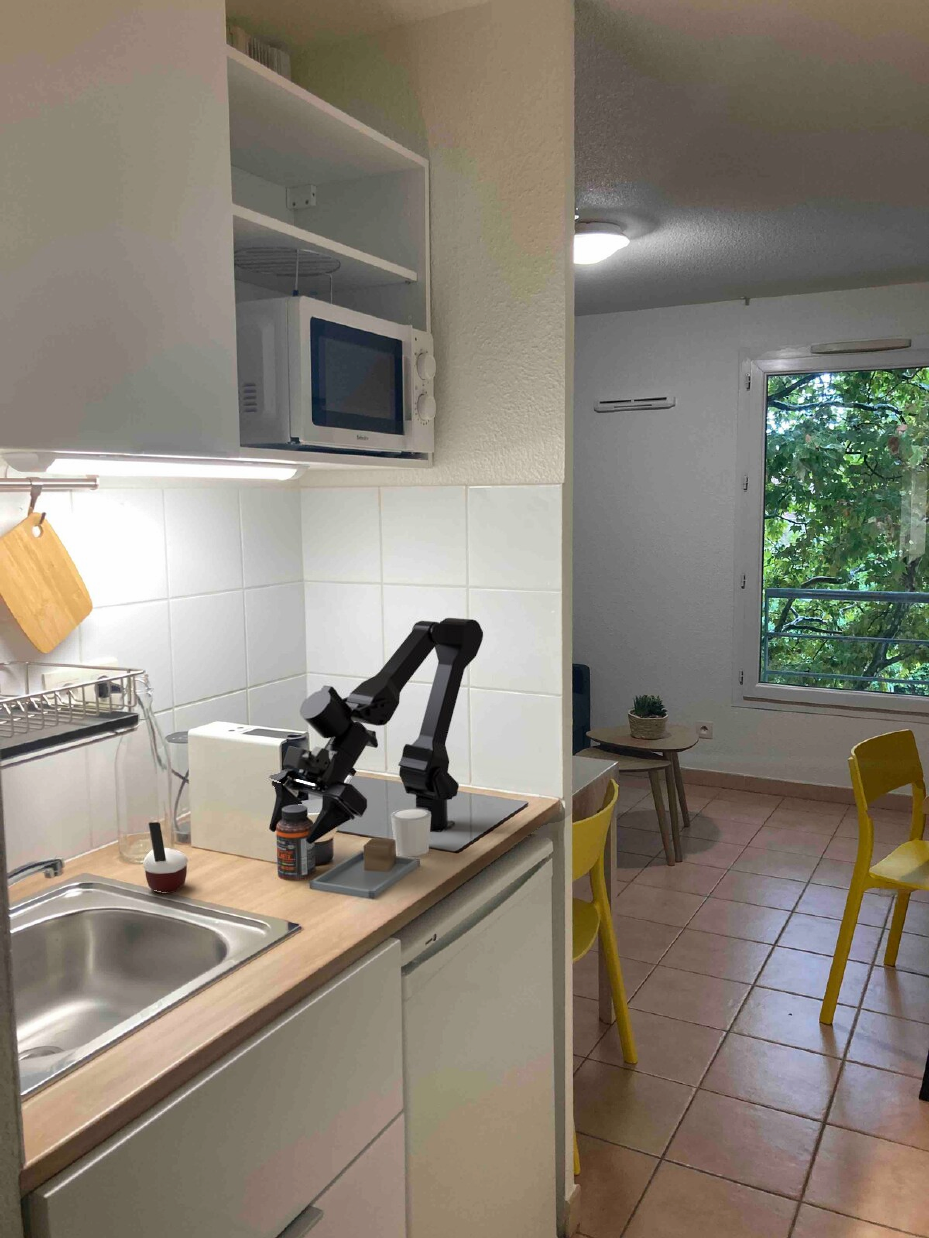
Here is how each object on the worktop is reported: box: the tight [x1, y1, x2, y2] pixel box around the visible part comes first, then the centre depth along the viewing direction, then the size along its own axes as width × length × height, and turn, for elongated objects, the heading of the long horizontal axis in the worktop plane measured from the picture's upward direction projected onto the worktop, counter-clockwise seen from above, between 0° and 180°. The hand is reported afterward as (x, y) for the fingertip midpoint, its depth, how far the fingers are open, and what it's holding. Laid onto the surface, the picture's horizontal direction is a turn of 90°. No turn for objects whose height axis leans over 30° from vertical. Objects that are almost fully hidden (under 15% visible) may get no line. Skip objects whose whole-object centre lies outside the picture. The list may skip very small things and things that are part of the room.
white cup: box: [390, 807, 431, 857], centre depth 167 cm, size 7×7×7 cm
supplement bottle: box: [275, 804, 316, 881], centre depth 157 cm, size 6×6×11 cm
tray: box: [308, 850, 421, 900], centre depth 156 cm, size 15×11×2 cm
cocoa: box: [142, 821, 189, 893], centre depth 153 cm, size 10×6×12 cm, turn 159°
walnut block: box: [363, 837, 397, 872], centre depth 160 cm, size 4×4×4 cm
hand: (289, 836), depth 156 cm, fingers open, 9 cm apart
